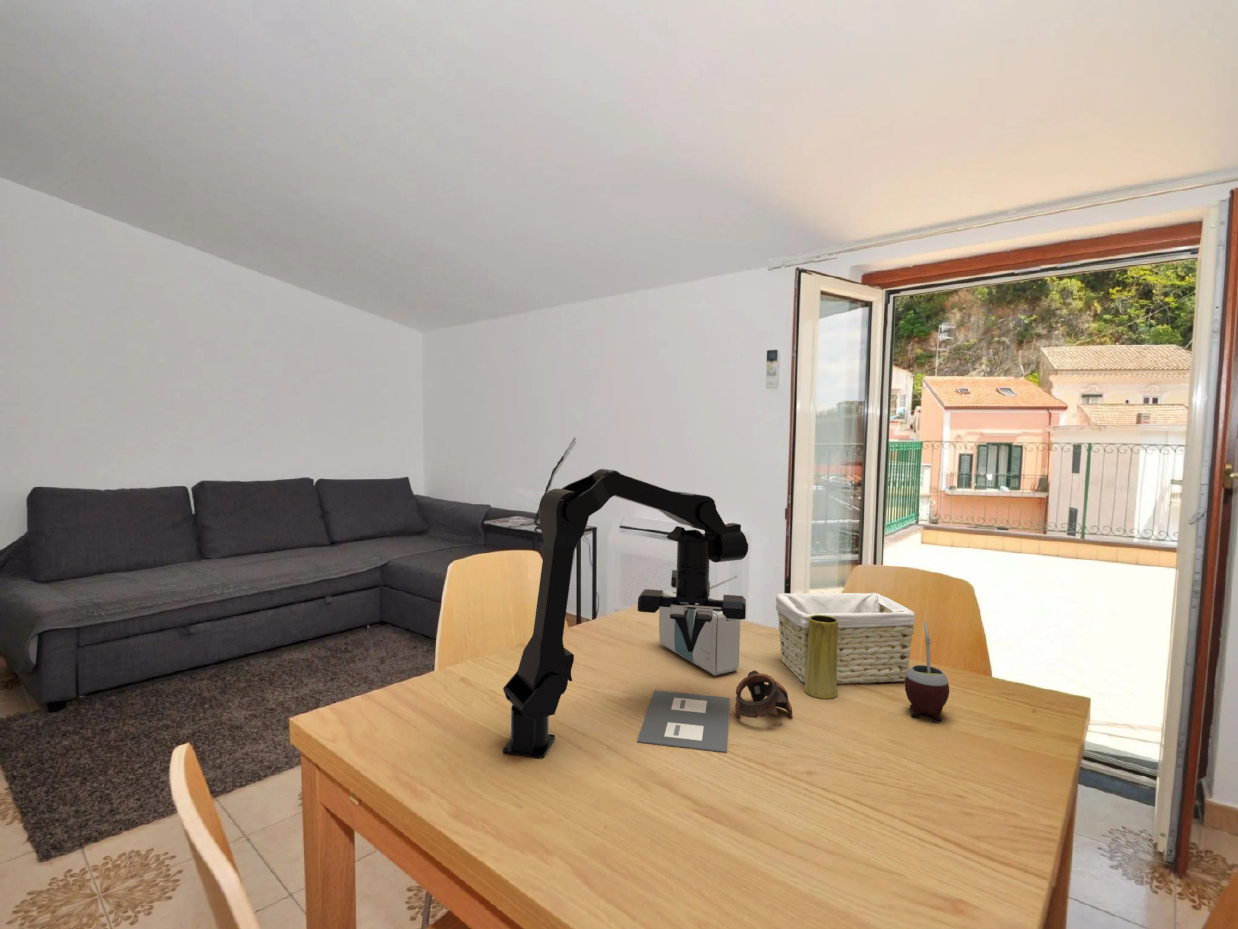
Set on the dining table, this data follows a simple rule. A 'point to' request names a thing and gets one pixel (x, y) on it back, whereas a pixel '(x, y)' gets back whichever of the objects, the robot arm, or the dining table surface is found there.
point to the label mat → (686, 721)
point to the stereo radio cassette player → (704, 639)
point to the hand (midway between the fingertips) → (690, 651)
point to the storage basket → (849, 634)
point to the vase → (822, 657)
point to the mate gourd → (926, 688)
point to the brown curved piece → (761, 696)
